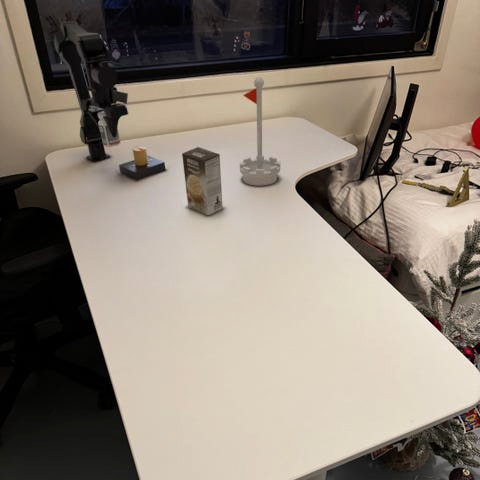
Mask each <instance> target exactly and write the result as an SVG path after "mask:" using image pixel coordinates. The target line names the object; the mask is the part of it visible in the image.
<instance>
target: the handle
mask: <svg viewBox="0 0 480 480" xmlns="http://www.w3.org/2000/svg"><path fill="white" fill-rule="evenodd" d="M132 154H133V160H135V164H136V165H139V166H141V165H146V164H148V159H147V156H148V152H147V147H146V146H143V145H142V146H141V145H138V146H135V147H132Z"/></svg>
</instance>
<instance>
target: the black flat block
mask: <svg viewBox="0 0 480 480" xmlns="http://www.w3.org/2000/svg"><path fill="white" fill-rule="evenodd" d="M147 159H148V164H146V165H141V166H139V165H136V164H135V160H134V159H133V160H130V161H127V162H124V163H120V164H119V165H118V168H119V173H120V175H122V176H126V177H127V178H130V179H132V180H133V181H140V180H143V179H146V178H149V177H152V176H154V175H157V174H161V173H163V172H166V163H165V161H163V160H160V159H158V158H155V157H153V156H151V155H147Z"/></svg>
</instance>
